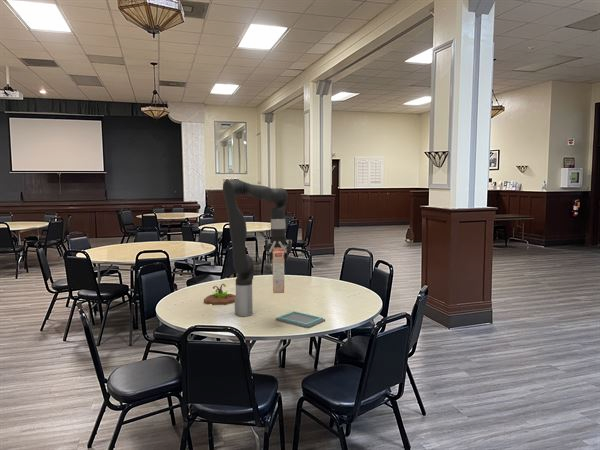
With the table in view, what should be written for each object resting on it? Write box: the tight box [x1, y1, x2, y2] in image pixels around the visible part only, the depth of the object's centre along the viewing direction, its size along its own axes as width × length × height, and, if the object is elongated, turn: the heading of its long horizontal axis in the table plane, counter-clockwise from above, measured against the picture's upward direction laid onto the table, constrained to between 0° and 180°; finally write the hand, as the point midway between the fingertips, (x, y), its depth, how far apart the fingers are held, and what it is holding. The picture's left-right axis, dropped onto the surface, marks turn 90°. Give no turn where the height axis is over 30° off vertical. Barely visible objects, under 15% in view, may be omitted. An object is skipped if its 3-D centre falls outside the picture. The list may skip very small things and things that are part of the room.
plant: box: [203, 283, 236, 306], centre depth 271 cm, size 20×20×11 cm
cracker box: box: [272, 247, 285, 294], centre depth 223 cm, size 14×6×21 cm, turn 3°
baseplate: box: [275, 310, 326, 329], centre depth 231 cm, size 22×15×2 cm
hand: (278, 259), depth 222 cm, fingers closed on cracker box, 7 cm apart
